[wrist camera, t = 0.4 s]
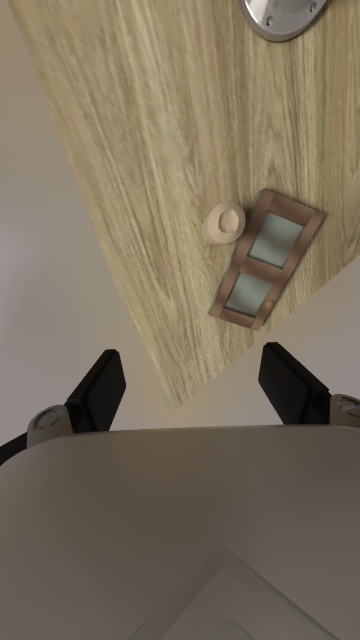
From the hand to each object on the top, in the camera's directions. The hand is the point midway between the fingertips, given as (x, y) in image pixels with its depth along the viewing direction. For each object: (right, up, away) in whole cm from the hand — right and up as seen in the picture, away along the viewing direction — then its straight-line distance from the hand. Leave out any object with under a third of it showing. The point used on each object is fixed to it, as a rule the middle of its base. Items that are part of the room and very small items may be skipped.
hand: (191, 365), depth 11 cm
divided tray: (+15, +13, +24) cm, 32 cm away
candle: (+6, +20, +22) cm, 30 cm away
